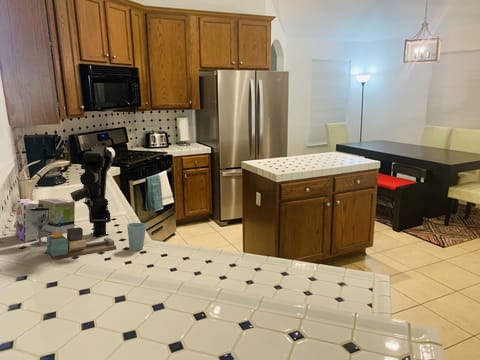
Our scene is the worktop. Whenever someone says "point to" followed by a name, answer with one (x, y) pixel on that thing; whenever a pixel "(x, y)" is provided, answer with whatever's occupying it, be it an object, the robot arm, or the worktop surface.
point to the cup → (136, 235)
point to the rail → (59, 250)
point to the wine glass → (39, 221)
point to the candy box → (25, 220)
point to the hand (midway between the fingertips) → (92, 218)
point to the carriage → (75, 239)
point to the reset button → (57, 235)
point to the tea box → (59, 214)
